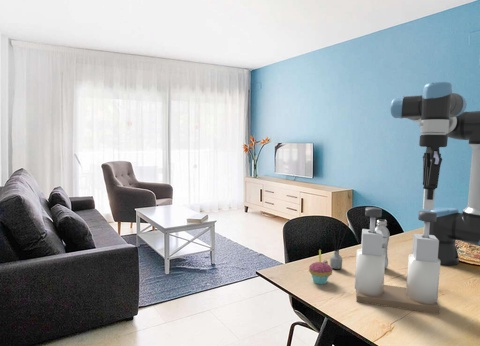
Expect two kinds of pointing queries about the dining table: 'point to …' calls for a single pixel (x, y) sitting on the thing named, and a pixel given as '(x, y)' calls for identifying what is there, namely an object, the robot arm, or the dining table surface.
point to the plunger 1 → (373, 216)
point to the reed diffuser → (336, 253)
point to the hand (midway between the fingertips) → (427, 209)
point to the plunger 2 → (427, 221)
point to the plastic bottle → (384, 237)
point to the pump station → (418, 276)
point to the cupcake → (320, 271)
